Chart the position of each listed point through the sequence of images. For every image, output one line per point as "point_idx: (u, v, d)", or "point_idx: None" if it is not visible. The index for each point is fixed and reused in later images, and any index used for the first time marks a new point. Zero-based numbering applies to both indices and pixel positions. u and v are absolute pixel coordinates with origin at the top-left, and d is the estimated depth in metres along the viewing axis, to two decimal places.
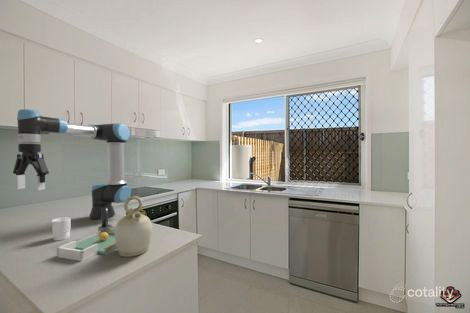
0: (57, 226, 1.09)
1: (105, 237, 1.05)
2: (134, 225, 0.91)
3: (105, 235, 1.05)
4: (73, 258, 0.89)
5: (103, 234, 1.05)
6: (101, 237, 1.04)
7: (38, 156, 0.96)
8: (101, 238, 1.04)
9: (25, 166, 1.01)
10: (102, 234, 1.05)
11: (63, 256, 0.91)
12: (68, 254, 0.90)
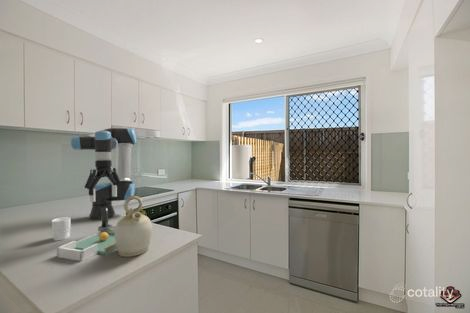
0: (57, 226, 1.09)
1: (105, 237, 1.05)
2: (134, 225, 0.91)
3: (105, 235, 1.05)
4: (73, 258, 0.89)
5: (103, 234, 1.05)
6: (101, 237, 1.04)
7: (90, 171, 1.10)
8: (101, 238, 1.04)
9: (110, 178, 1.20)
10: (102, 234, 1.05)
11: (63, 256, 0.91)
12: (68, 254, 0.90)
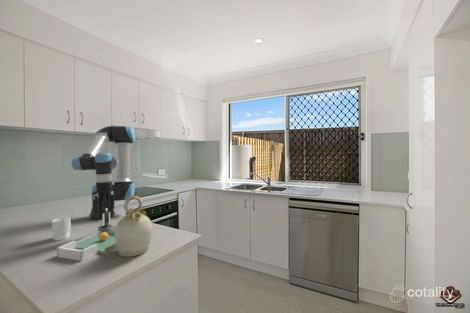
0: (57, 226, 1.09)
1: (105, 237, 1.05)
2: (134, 225, 0.91)
3: (105, 235, 1.05)
4: (73, 258, 0.89)
5: (103, 234, 1.05)
6: (101, 237, 1.04)
7: (92, 198, 1.11)
8: (101, 238, 1.04)
9: (107, 202, 1.18)
10: (102, 234, 1.05)
11: (63, 256, 0.91)
12: (68, 254, 0.90)
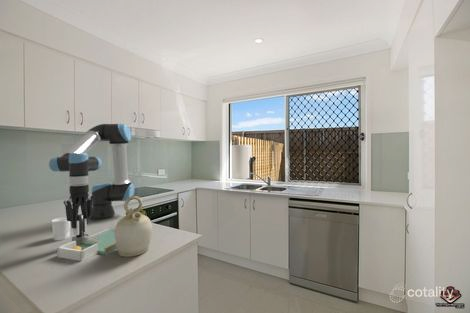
0: (57, 226, 1.09)
1: None
2: (134, 225, 0.91)
3: None
4: (73, 258, 0.89)
5: None
6: None
7: None
8: None
9: (83, 207, 1.05)
10: None
11: (63, 256, 0.91)
12: (68, 254, 0.90)
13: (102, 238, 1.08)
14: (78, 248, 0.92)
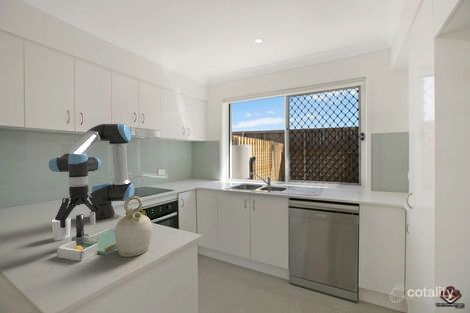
0: (57, 226, 1.09)
1: None
2: (134, 225, 0.91)
3: (79, 249, 0.92)
4: (73, 258, 0.89)
5: (76, 248, 0.92)
6: None
7: (62, 200, 0.97)
8: None
9: (87, 205, 1.07)
10: (75, 248, 0.92)
11: (63, 256, 0.91)
12: (68, 254, 0.90)
13: (102, 238, 1.08)
14: (80, 247, 0.93)
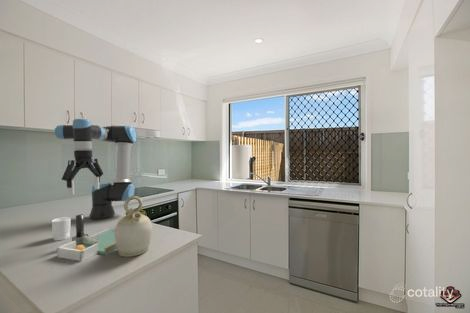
0: (57, 226, 1.09)
1: None
2: (134, 225, 0.91)
3: (82, 248, 0.94)
4: (73, 258, 0.89)
5: (80, 246, 0.94)
6: (77, 248, 0.93)
7: (68, 162, 1.02)
8: None
9: (92, 169, 1.13)
10: (79, 246, 0.94)
11: (63, 256, 0.91)
12: (68, 254, 0.90)
13: (102, 238, 1.08)
14: (83, 246, 0.94)
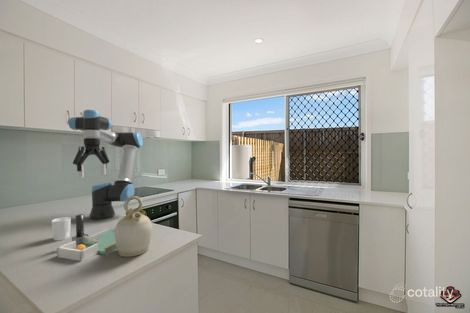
0: (57, 226, 1.09)
1: (82, 249, 0.94)
2: (134, 225, 0.91)
3: (83, 247, 0.94)
4: (73, 258, 0.89)
5: (82, 245, 0.95)
6: (78, 247, 0.93)
7: (79, 148, 1.13)
8: (78, 248, 0.93)
9: (99, 157, 1.24)
10: (81, 245, 0.95)
11: (63, 256, 0.91)
12: (68, 254, 0.90)
13: (102, 238, 1.08)
14: (85, 246, 0.95)
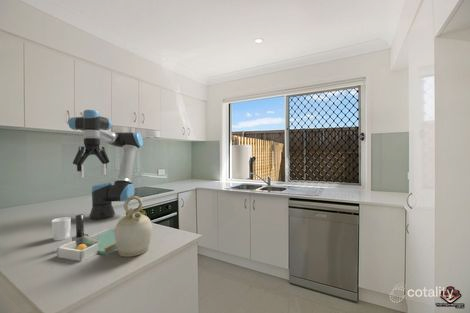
0: (57, 226, 1.09)
1: (83, 248, 0.94)
2: (134, 225, 0.91)
3: (85, 246, 0.95)
4: (73, 258, 0.89)
5: (84, 244, 0.95)
6: (80, 246, 0.94)
7: (79, 148, 1.13)
8: (79, 247, 0.94)
9: (99, 157, 1.24)
10: (83, 244, 0.95)
11: (63, 256, 0.91)
12: (68, 254, 0.90)
13: (102, 238, 1.08)
14: (86, 246, 0.96)
